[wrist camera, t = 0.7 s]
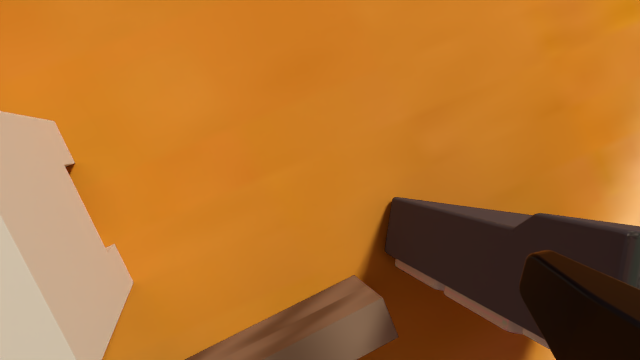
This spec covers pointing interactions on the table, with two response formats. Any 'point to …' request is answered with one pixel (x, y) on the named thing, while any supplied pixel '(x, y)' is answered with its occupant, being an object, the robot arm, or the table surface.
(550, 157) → the table surface
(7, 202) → the notched plate
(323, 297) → the slotted beam
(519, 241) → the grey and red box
